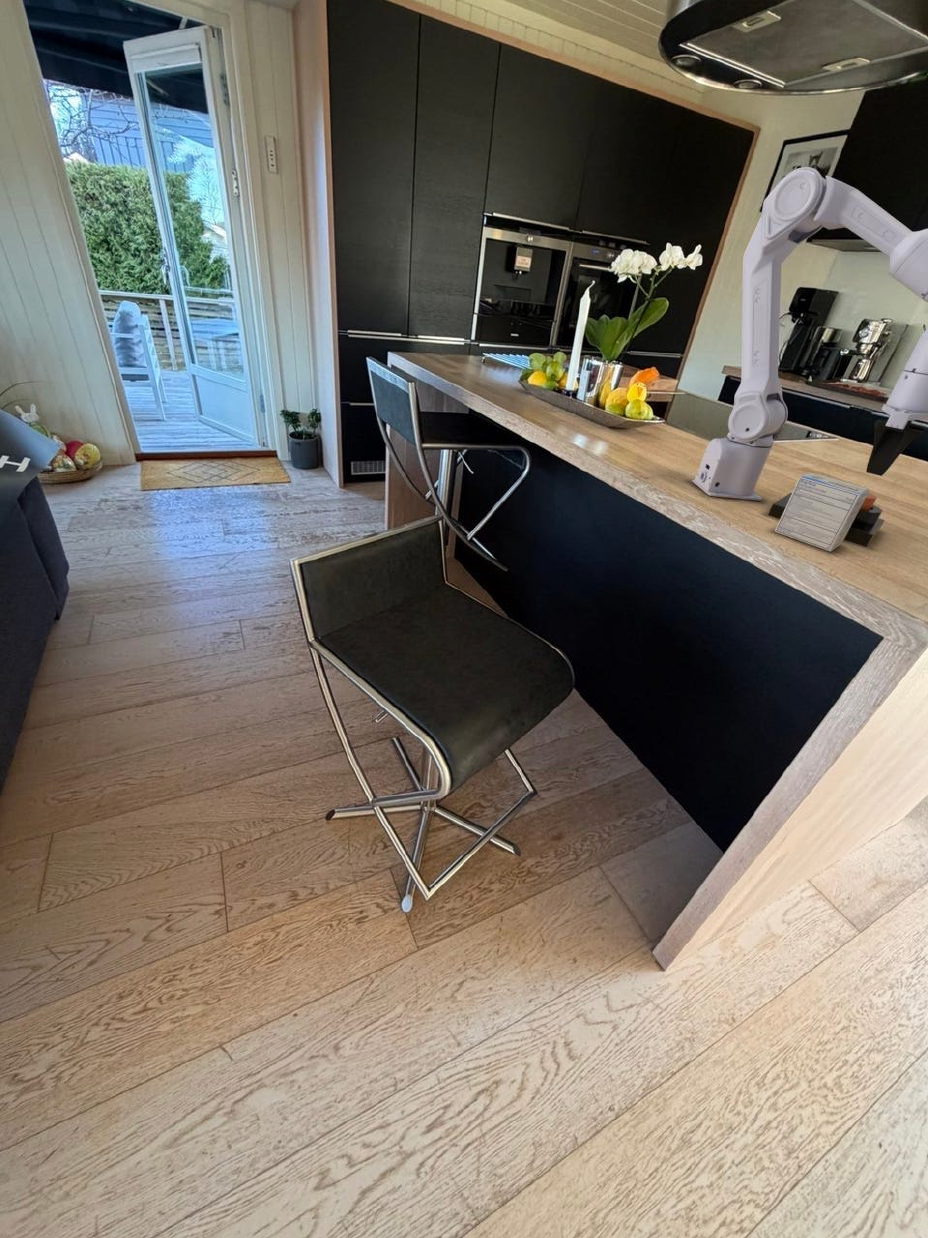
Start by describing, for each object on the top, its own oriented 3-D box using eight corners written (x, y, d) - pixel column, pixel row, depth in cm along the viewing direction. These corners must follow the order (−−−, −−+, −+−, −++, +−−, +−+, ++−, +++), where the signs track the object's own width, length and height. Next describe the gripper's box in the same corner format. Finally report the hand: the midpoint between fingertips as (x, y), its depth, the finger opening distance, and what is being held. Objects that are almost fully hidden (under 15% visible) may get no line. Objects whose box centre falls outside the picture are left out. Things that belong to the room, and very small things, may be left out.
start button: (867, 513, 78) (874, 500, 77) (840, 505, 80) (847, 492, 79) (871, 508, 80) (878, 495, 79) (845, 501, 82) (852, 488, 81)
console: (866, 547, 76) (880, 521, 74) (767, 515, 84) (778, 491, 81) (878, 531, 82) (892, 507, 80) (785, 503, 90) (795, 480, 88)
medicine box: (840, 546, 75) (872, 488, 70) (829, 553, 73) (862, 493, 68) (784, 526, 80) (811, 471, 75) (773, 532, 77) (799, 475, 73)
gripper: (960, 381, 63) (898, 490, 70) (968, 377, 72) (912, 473, 80) (893, 371, 67) (840, 475, 74) (908, 368, 76) (860, 460, 84)
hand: (874, 473), depth 77 cm, fingers closed
